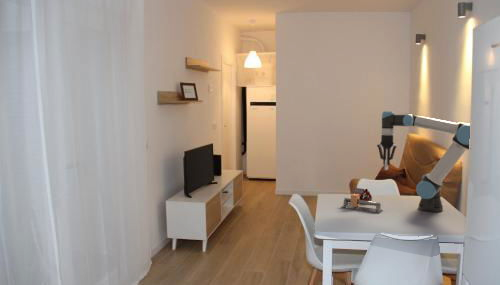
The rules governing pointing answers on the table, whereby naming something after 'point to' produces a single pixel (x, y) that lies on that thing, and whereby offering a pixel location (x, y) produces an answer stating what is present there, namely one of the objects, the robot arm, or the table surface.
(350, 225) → the table surface
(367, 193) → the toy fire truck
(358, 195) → the collar
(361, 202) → the rail
